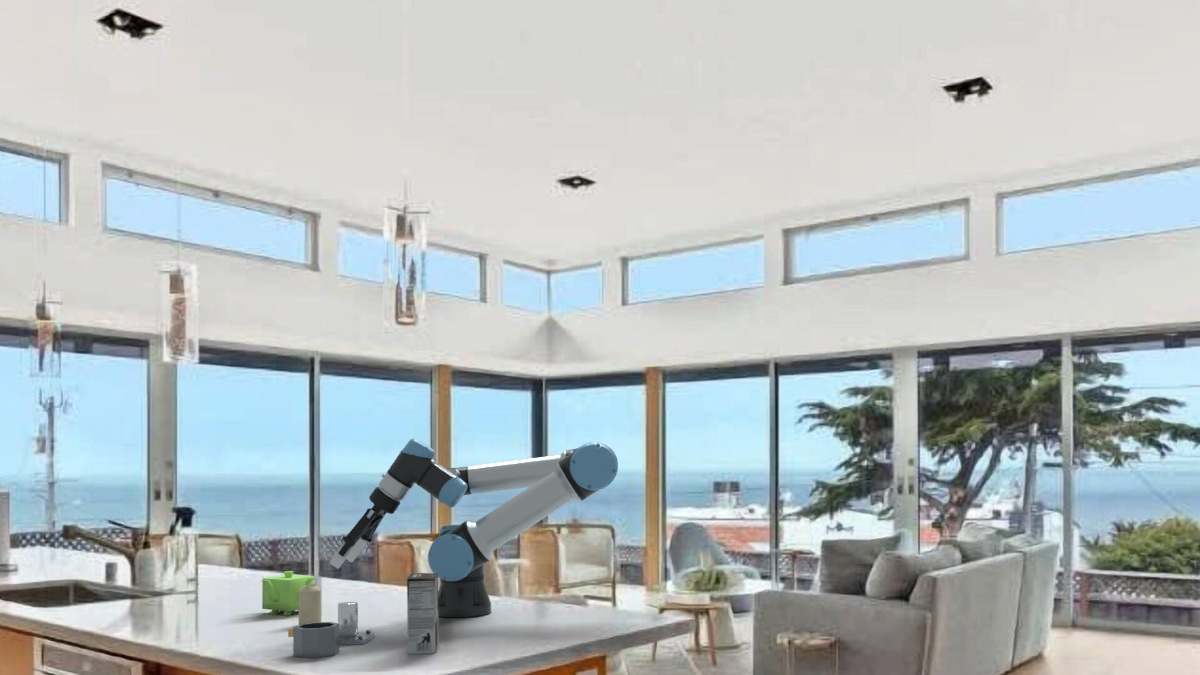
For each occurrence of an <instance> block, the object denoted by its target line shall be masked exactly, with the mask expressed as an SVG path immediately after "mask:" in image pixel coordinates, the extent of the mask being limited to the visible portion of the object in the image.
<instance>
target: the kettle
mask: <svg viewBox="0 0 1200 675" xmlns="http://www.w3.org/2000/svg"><path fill="white" fill-rule="evenodd" d="M315 580H316V576H314V575H301V574H300V575H299V574H294V571H293V570H287V571H283V574H282V575H277V576H275V575H274V576H270V577H263V578H262V580H260V582H262V585H261V586H262V589H261V590H262V592H261V593H262V594H261V595H262V597H261V599H262V601H261V602H262V604H261V608H262V610H270V613H269V615H278V614H279V612H280V611H281V612H283V616H284V617H286V616H293V615H292V614H293V612H294V611H297V612H299V590H300V589H301V588H302V587H303V585H309V584H315V582H316V581H315ZM315 585H316V584H315Z"/></svg>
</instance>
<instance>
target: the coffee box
mask: <svg viewBox="0 0 1200 675" xmlns="http://www.w3.org/2000/svg"><path fill="white" fill-rule="evenodd" d="M438 584H439V578H438V573H433V572H432V573H429V572H419V573H418V572H416V573H415V572H414V573H409V575H408V577H407V579H406V587H407V588H406V590H407V592H406V595H407V598H406V600H407V602H406V605H407V606H406V607H407V611H406V612H407V617H406V619H407V624H406V626H407V628H406V629H407V637H406V638H407V654H408V655H419V654H420V655H421V654H422V655H424V654H437V652H438V648H439V645H440V638H439V635H440V634H439V632H440V631H439V628H440V627H439V616H438V591H439V585H438Z"/></svg>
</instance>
